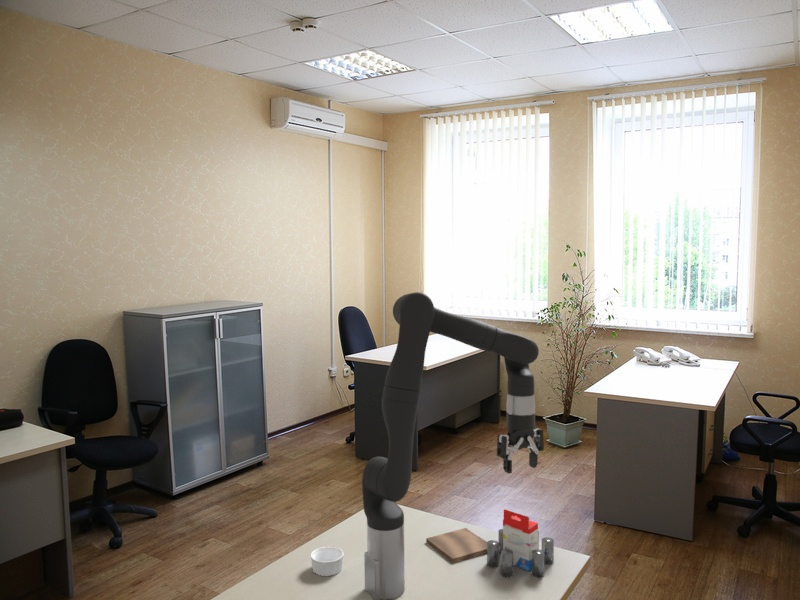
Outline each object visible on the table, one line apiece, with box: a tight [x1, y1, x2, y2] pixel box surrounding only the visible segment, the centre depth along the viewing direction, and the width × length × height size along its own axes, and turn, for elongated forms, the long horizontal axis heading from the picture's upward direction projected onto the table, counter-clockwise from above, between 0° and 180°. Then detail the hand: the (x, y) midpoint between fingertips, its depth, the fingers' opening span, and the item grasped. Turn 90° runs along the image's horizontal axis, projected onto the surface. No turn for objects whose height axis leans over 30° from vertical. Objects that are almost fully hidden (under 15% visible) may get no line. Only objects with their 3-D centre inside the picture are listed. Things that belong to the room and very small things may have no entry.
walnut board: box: [425, 527, 488, 564], centre depth 174 cm, size 14×14×1 cm
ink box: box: [502, 508, 539, 572], centre depth 164 cm, size 8×5×15 cm, turn 47°
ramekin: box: [310, 546, 345, 577], centre depth 162 cm, size 9×9×4 cm
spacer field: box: [486, 528, 555, 579], centre depth 164 cm, size 17×17×6 cm
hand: (520, 469), depth 163 cm, fingers open, 8 cm apart
